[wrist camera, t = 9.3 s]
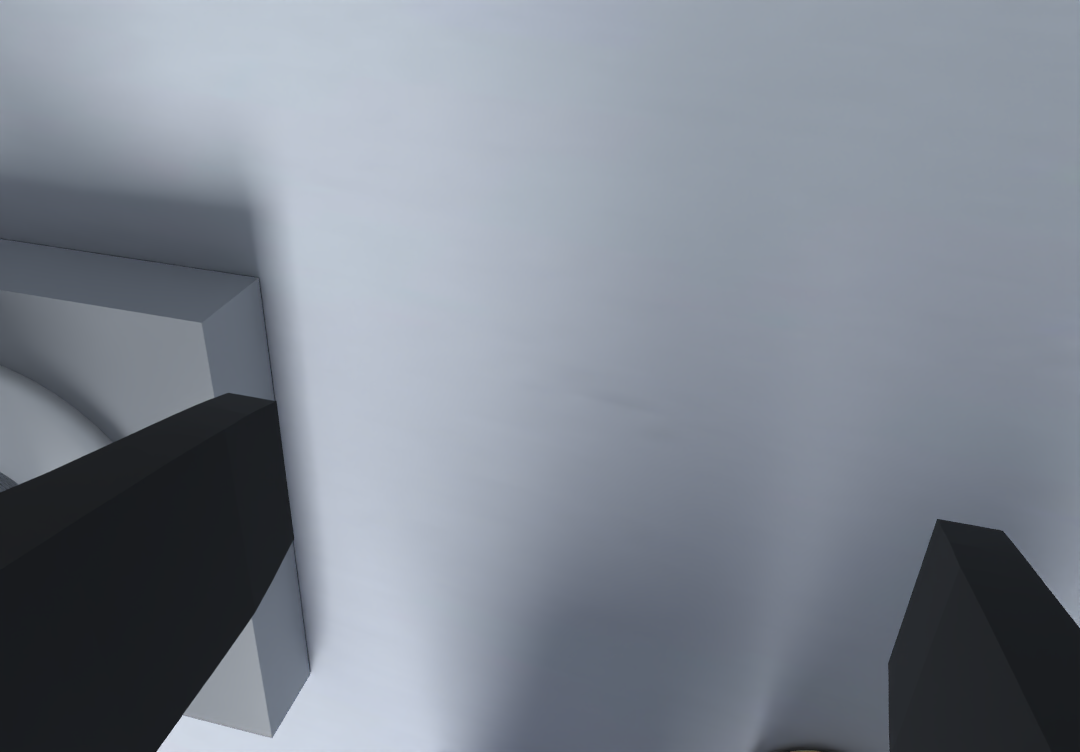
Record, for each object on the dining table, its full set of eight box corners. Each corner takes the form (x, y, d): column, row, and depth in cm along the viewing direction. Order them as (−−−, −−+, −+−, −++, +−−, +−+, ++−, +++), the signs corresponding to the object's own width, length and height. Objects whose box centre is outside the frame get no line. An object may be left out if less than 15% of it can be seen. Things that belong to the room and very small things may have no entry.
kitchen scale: (310, 674, 29) (235, 799, 25) (-76, 582, 32) (-196, 682, 28) (258, 278, 22) (143, 368, 18) (-232, 204, 25) (-421, 268, 21)
